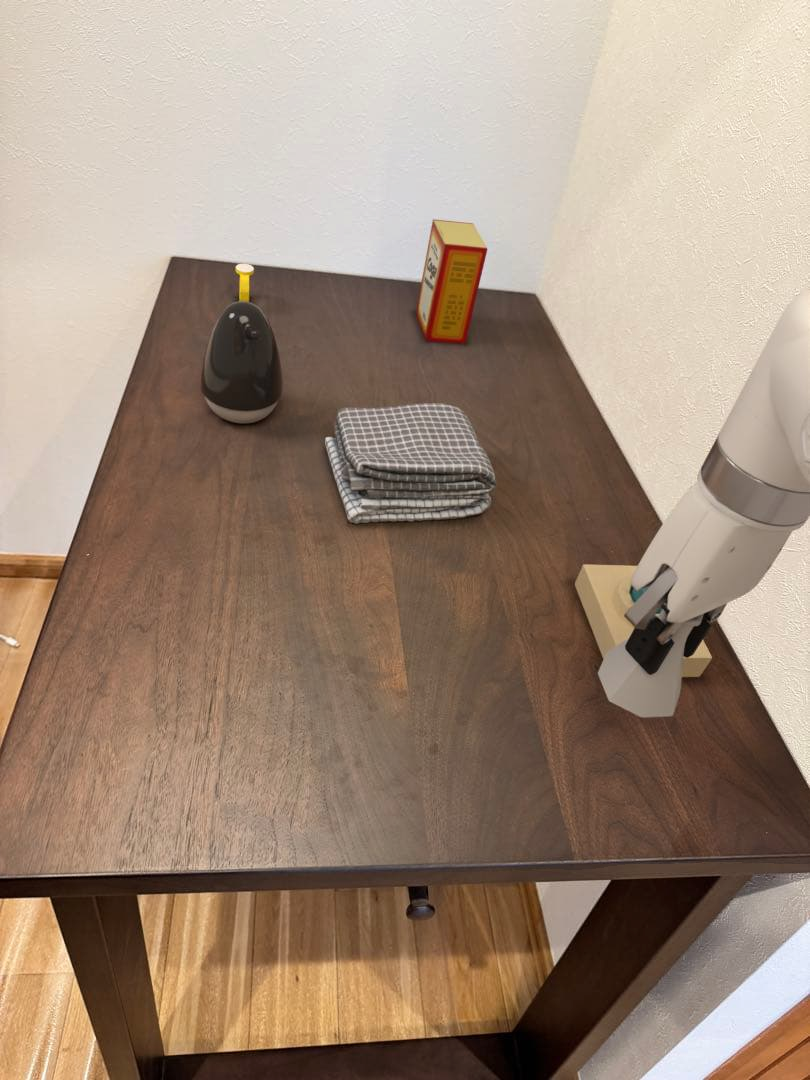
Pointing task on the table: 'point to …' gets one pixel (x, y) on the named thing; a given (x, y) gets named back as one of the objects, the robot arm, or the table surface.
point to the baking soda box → (450, 281)
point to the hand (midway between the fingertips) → (658, 651)
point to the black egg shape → (242, 365)
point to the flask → (646, 676)
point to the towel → (409, 463)
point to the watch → (244, 280)
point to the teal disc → (638, 593)
